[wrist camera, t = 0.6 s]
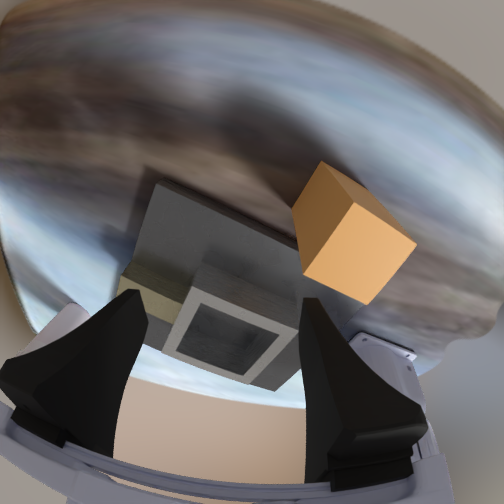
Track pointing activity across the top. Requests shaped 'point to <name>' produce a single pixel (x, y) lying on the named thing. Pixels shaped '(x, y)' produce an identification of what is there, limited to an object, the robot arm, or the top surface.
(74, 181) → the top surface
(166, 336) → the grey socket base
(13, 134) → the top surface
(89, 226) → the top surface
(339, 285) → the wedge pin
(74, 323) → the smoothie
